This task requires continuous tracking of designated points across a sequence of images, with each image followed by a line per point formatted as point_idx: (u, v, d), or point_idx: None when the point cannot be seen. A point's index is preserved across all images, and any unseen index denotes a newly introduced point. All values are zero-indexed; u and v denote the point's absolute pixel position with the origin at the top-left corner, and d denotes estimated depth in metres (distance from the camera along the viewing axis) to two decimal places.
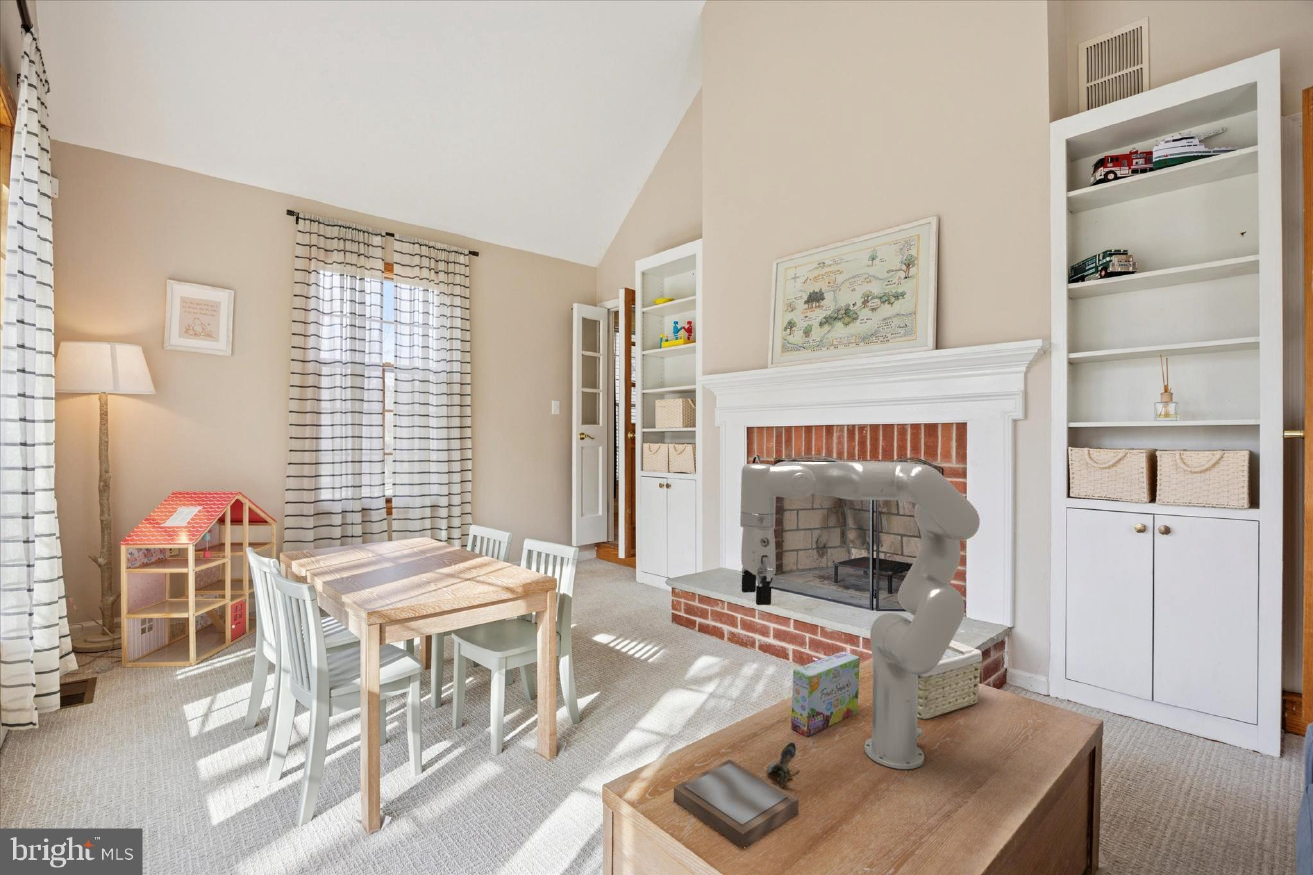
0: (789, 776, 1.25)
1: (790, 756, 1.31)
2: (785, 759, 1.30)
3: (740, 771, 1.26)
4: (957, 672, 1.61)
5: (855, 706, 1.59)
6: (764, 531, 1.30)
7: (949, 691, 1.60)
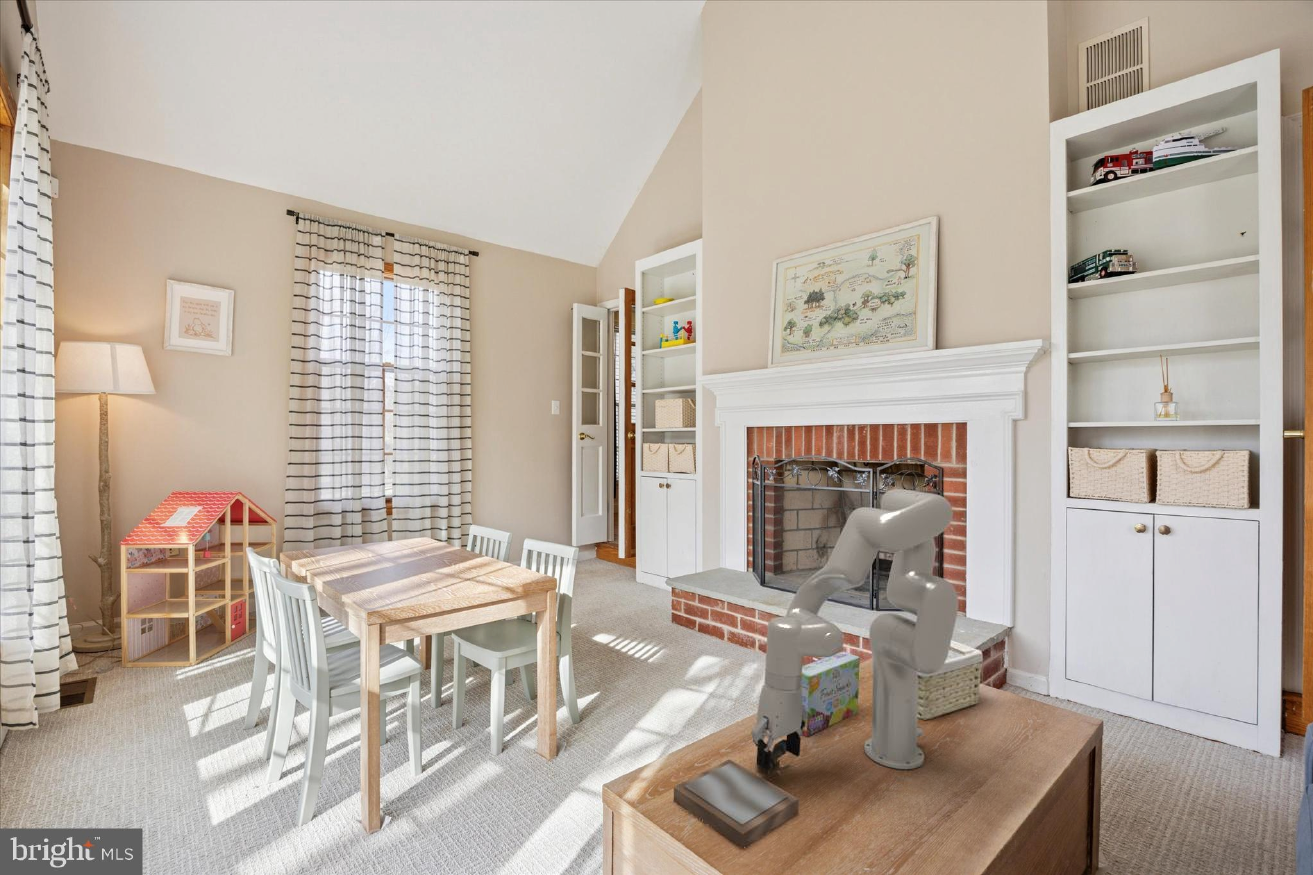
0: (777, 769, 1.27)
1: (781, 753, 1.33)
2: (776, 753, 1.32)
3: (740, 771, 1.26)
4: (958, 672, 1.61)
5: (855, 706, 1.59)
6: None
7: (950, 691, 1.60)
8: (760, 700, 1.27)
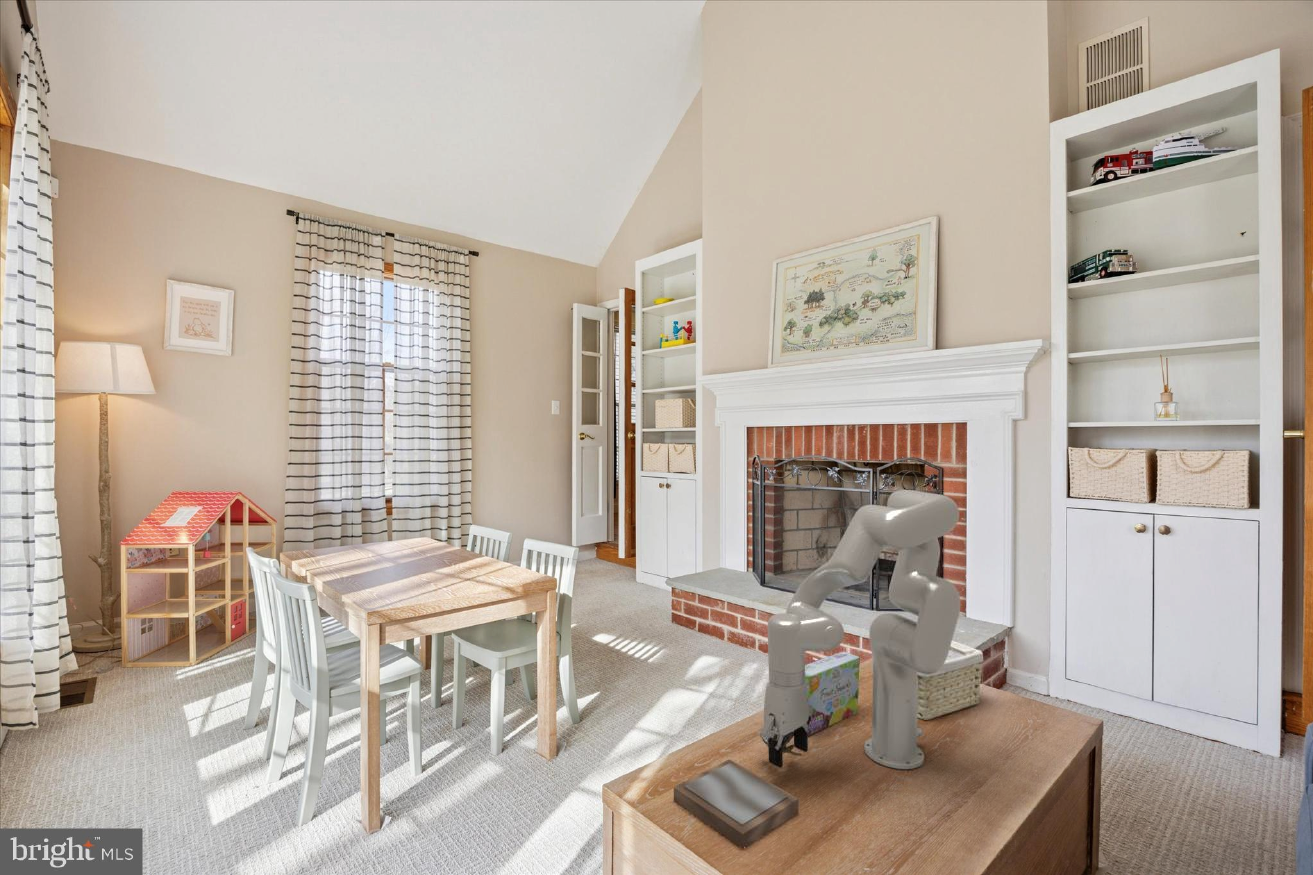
0: (789, 751, 1.28)
1: None
2: None
3: (740, 771, 1.26)
4: (958, 673, 1.60)
5: (855, 706, 1.59)
6: None
7: (950, 692, 1.59)
8: (765, 698, 1.28)
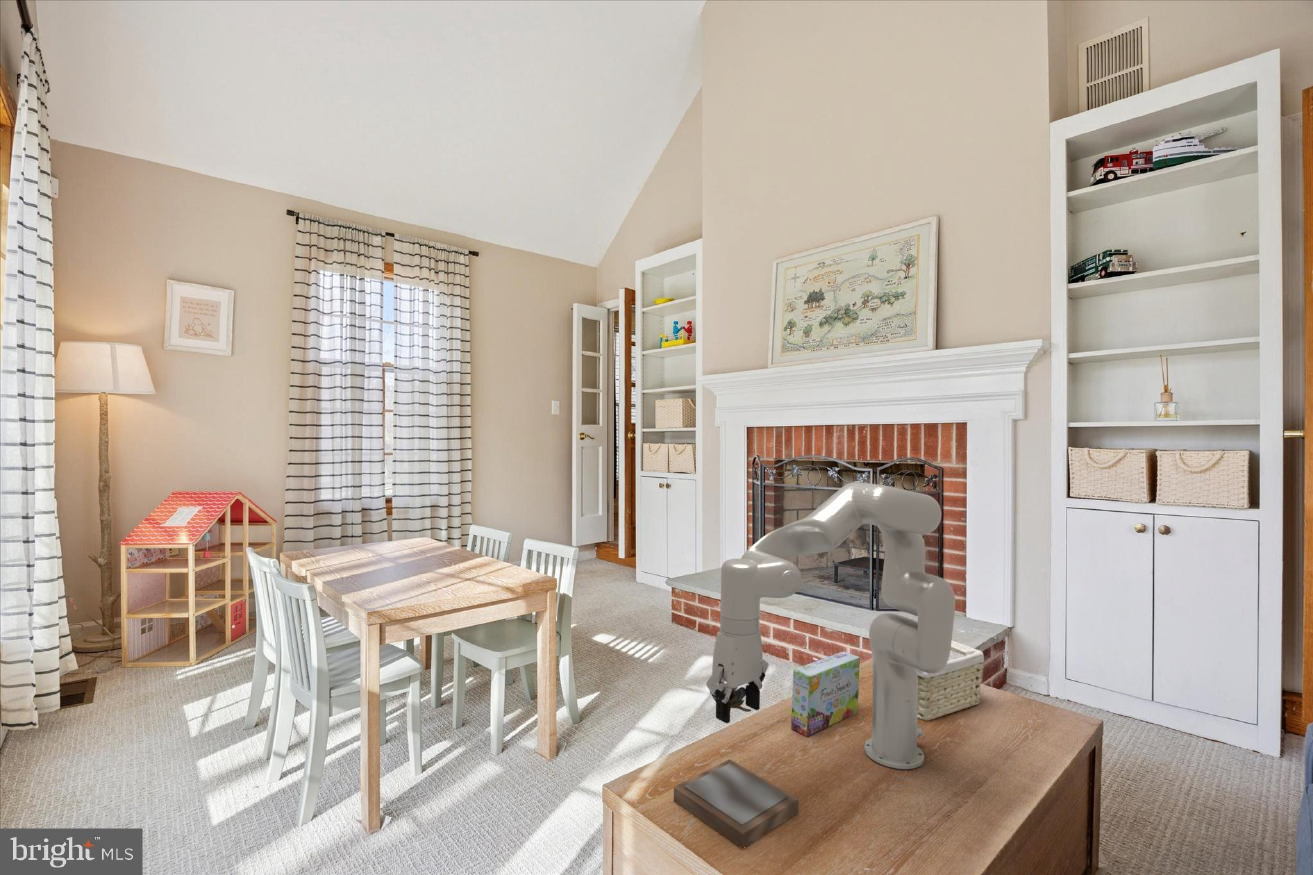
0: (738, 706, 1.18)
1: (736, 700, 1.24)
2: None
3: (740, 771, 1.26)
4: (959, 673, 1.60)
5: (855, 706, 1.59)
6: None
7: (951, 692, 1.59)
8: (715, 647, 1.18)
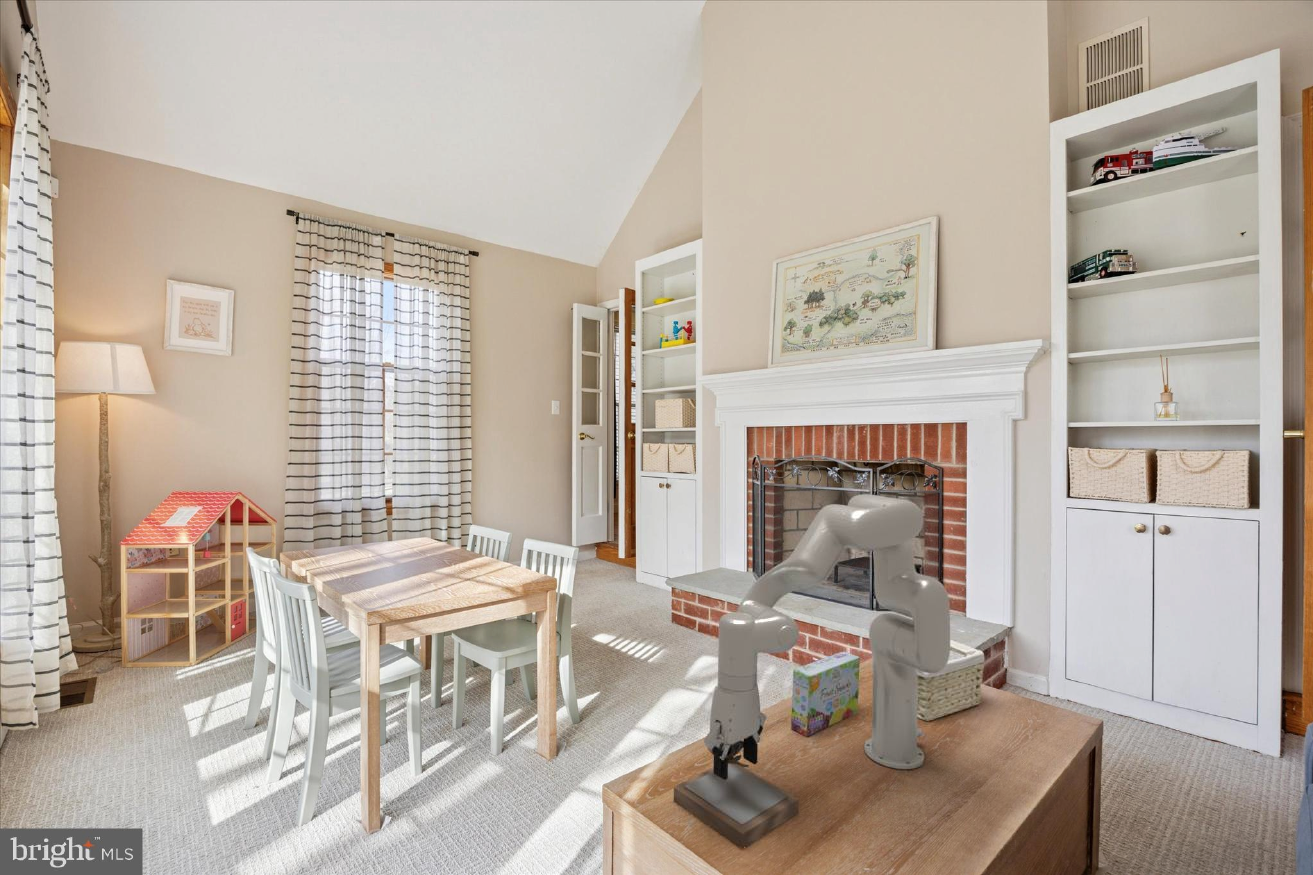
0: (735, 761, 1.18)
1: (734, 752, 1.24)
2: None
3: (740, 771, 1.26)
4: (960, 673, 1.60)
5: (855, 706, 1.59)
6: None
7: (952, 692, 1.59)
8: (713, 703, 1.18)
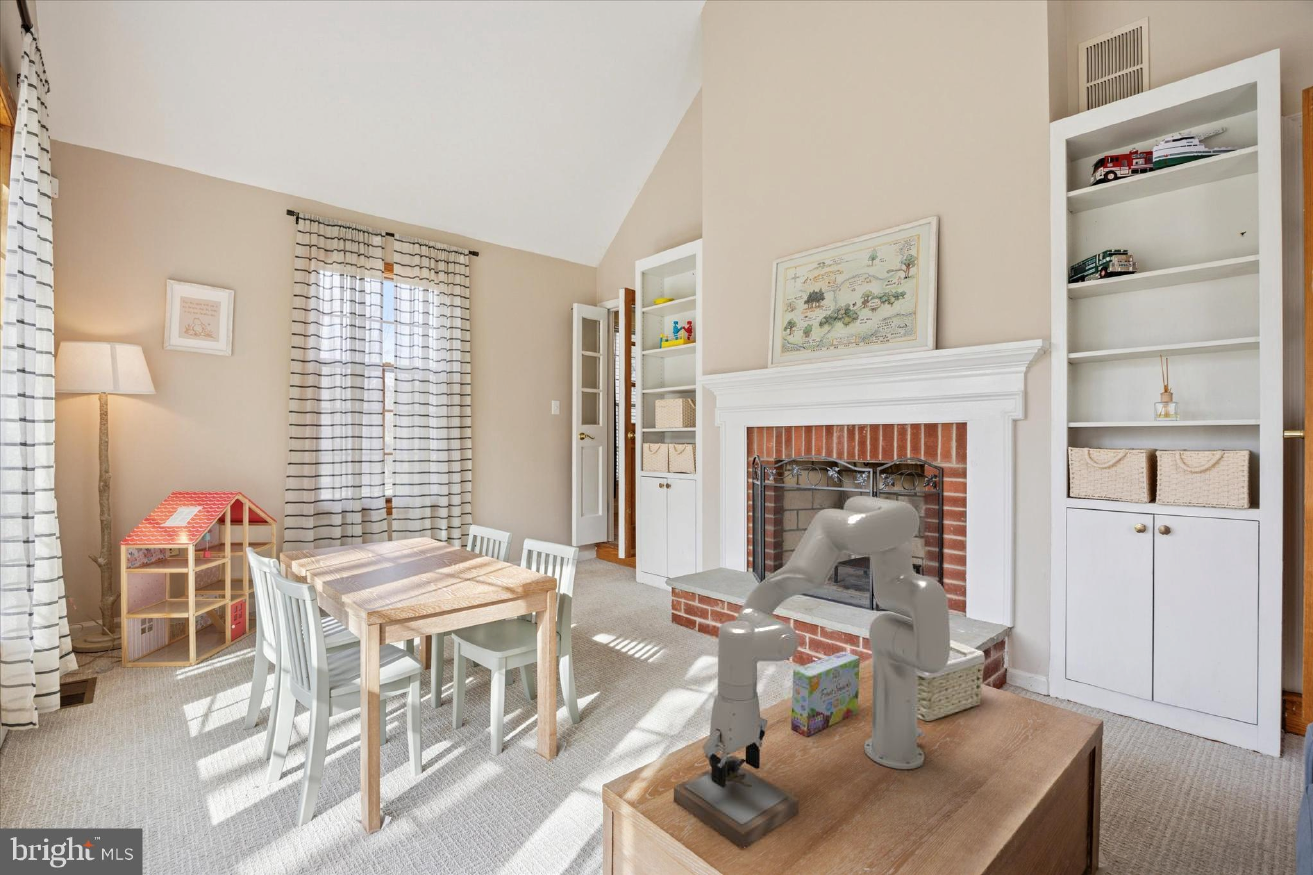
0: (739, 780, 1.18)
1: None
2: None
3: (740, 771, 1.26)
4: (960, 673, 1.60)
5: (855, 706, 1.59)
6: None
7: (952, 693, 1.59)
8: (713, 712, 1.18)
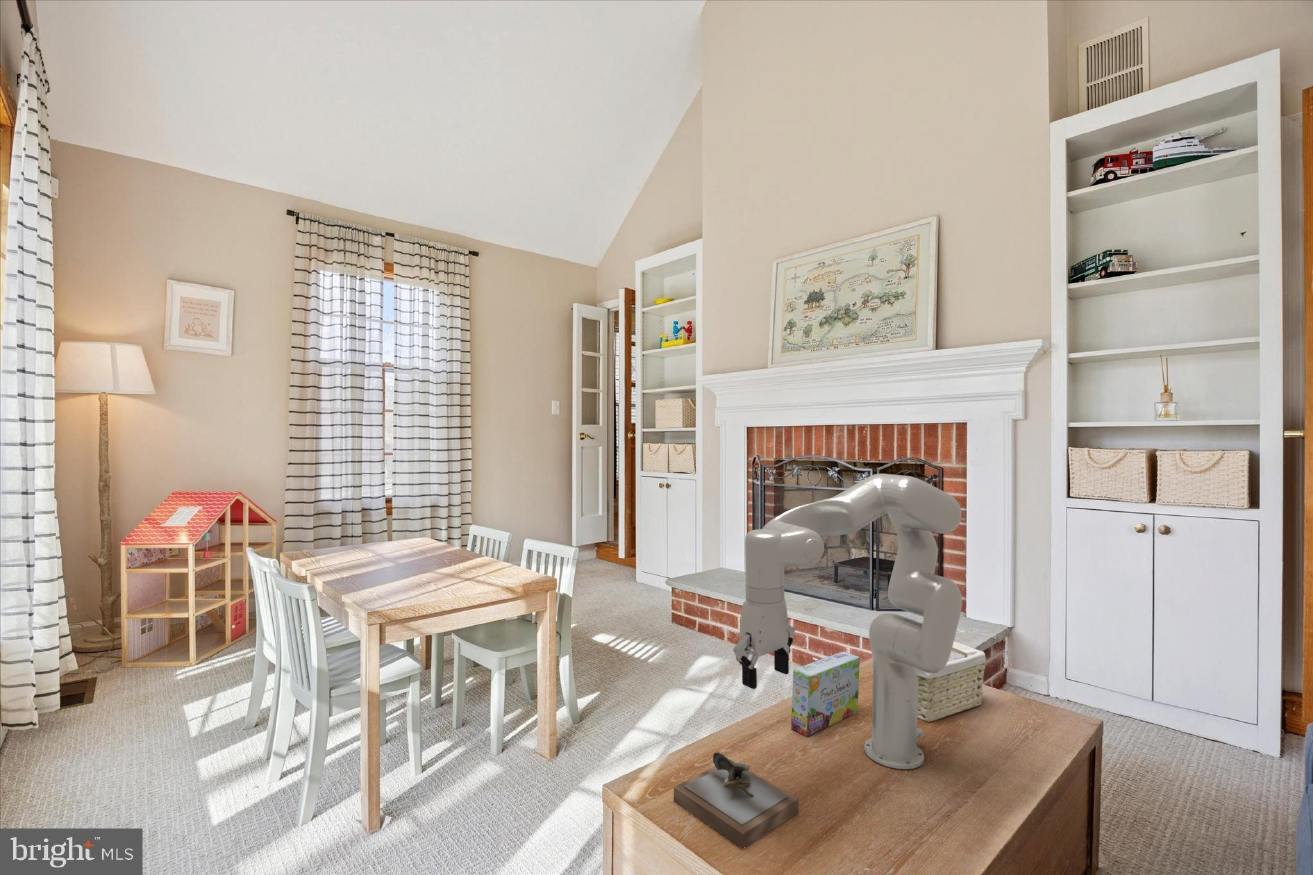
0: (743, 788, 1.18)
1: None
2: None
3: None
4: (961, 674, 1.60)
5: (855, 706, 1.59)
6: None
7: (953, 693, 1.59)
8: (741, 617, 1.19)
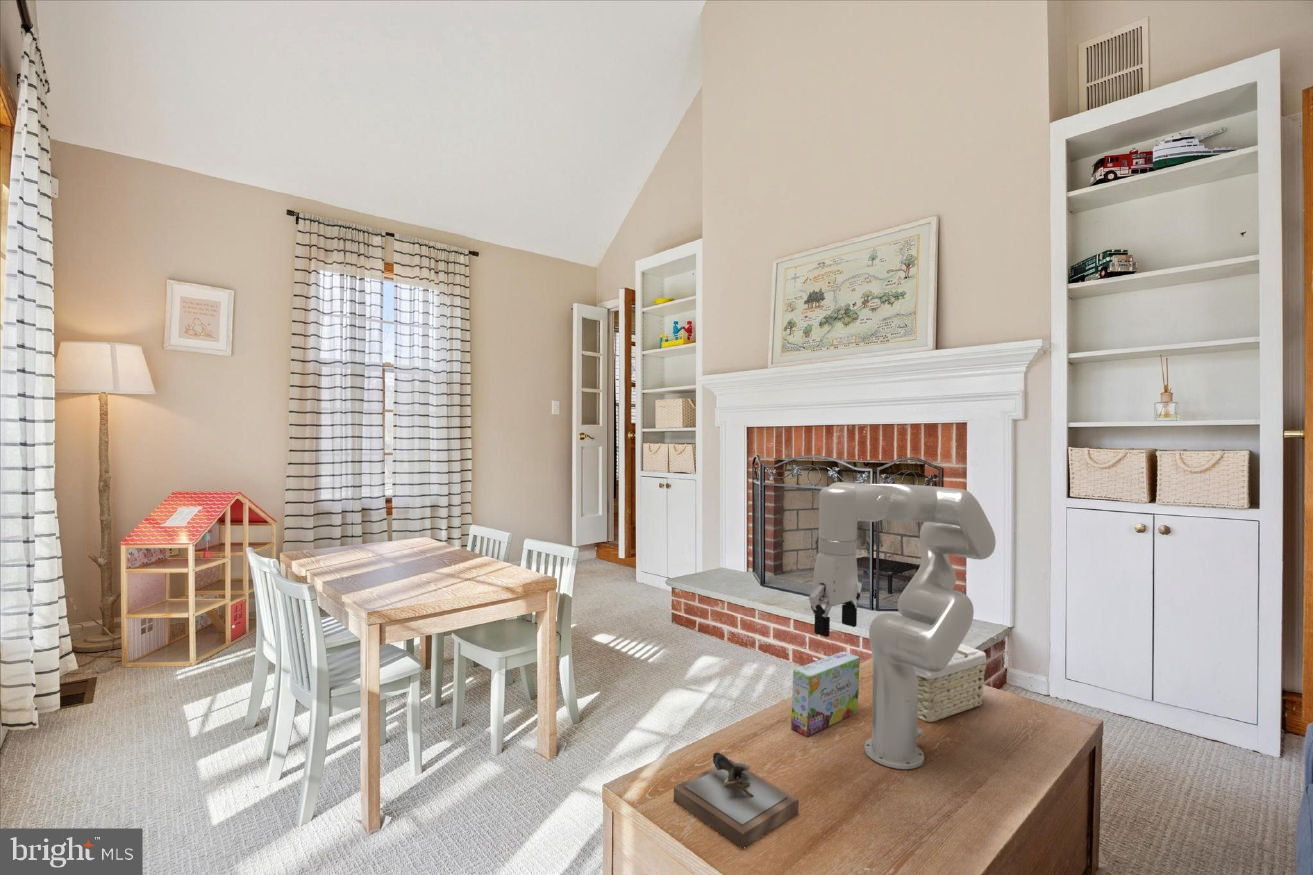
0: (743, 788, 1.18)
1: None
2: None
3: None
4: (962, 674, 1.59)
5: (855, 706, 1.59)
6: None
7: (954, 693, 1.58)
8: (815, 568, 1.25)
